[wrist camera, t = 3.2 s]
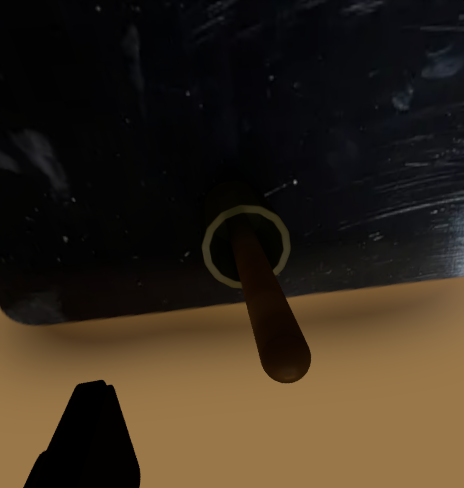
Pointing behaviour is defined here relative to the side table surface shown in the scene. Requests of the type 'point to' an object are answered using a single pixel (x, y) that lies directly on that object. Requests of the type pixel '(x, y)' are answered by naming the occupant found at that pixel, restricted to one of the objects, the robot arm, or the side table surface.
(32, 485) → the robot arm
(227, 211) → the holder
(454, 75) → the side table surface
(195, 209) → the side table surface
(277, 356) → the stick
